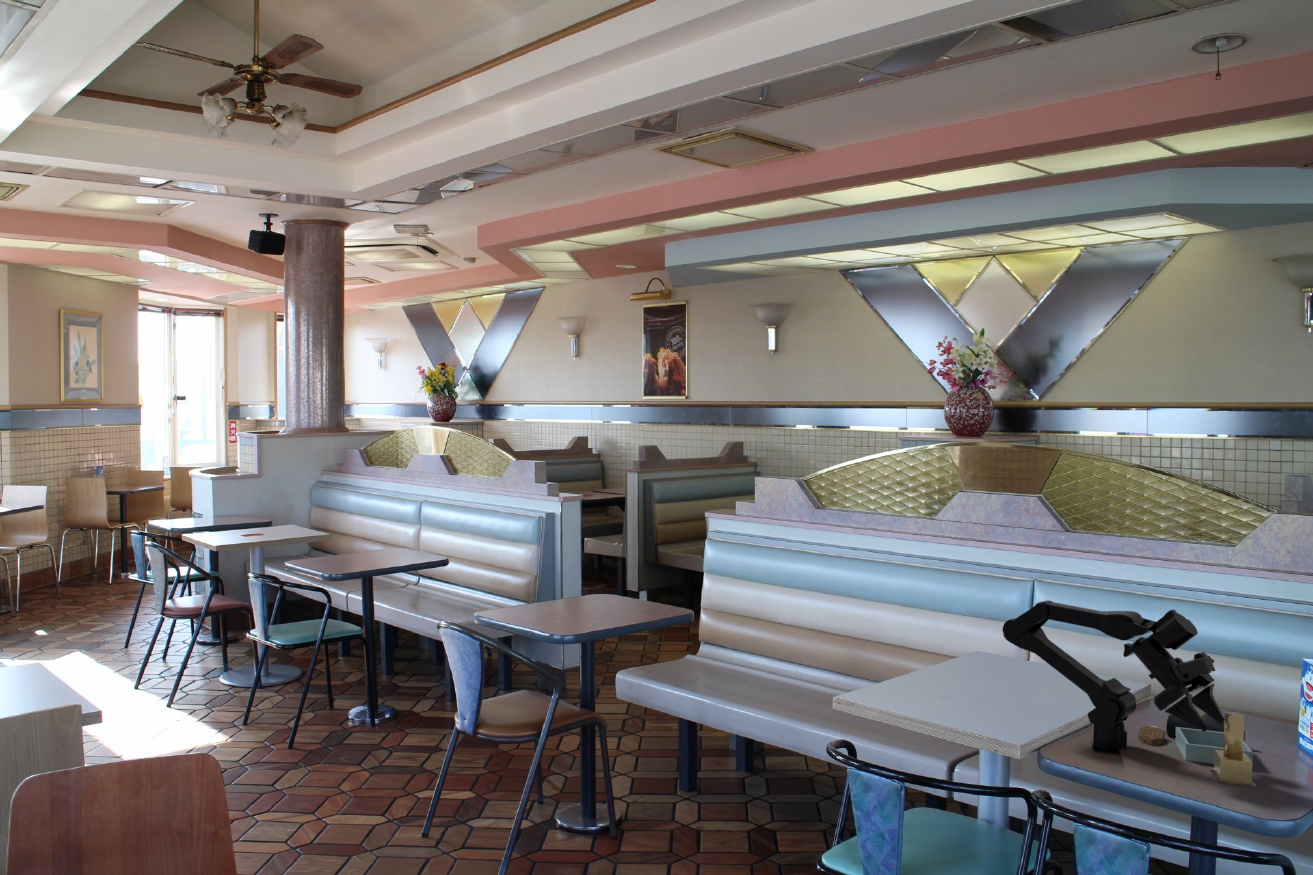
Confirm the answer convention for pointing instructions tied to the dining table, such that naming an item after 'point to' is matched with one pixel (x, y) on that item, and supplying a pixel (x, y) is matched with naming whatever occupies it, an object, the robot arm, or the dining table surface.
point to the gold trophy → (1233, 752)
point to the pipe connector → (1177, 722)
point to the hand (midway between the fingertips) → (1214, 725)
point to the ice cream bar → (1151, 735)
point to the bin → (1202, 744)
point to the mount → (1229, 782)
